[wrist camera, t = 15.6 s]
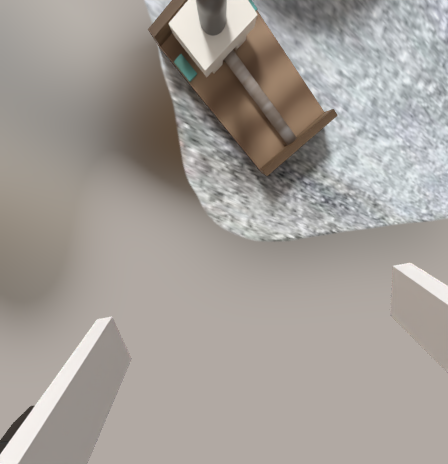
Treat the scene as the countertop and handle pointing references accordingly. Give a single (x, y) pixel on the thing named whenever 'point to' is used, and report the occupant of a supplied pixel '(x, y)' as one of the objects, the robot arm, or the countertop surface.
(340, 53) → the countertop surface
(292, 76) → the rail board
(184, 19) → the carriage
